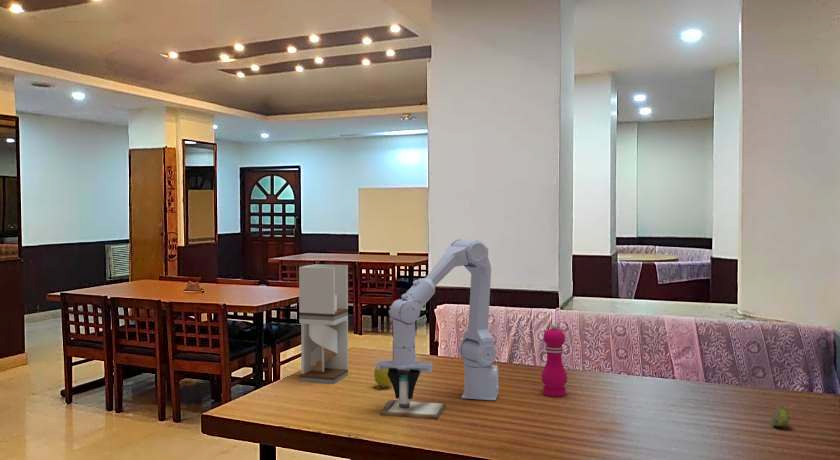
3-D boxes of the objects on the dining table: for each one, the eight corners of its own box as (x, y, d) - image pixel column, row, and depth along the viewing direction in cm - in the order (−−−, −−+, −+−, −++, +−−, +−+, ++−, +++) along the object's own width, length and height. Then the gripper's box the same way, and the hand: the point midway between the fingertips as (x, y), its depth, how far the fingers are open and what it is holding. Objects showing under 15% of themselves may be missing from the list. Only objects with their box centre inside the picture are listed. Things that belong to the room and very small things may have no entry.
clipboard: (445, 405, 165) (445, 400, 165) (437, 419, 154) (437, 413, 154) (391, 402, 168) (391, 397, 168) (380, 414, 157) (379, 409, 157)
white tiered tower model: (299, 381, 189) (299, 267, 188) (315, 372, 199) (314, 264, 198) (333, 384, 186) (333, 268, 185) (348, 375, 196) (347, 265, 195)
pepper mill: (565, 390, 179) (565, 321, 179) (568, 397, 172) (568, 325, 171) (540, 389, 180) (540, 321, 179) (542, 396, 173) (542, 325, 172)
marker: (411, 404, 163) (411, 375, 162) (408, 408, 160) (408, 378, 159) (399, 404, 163) (399, 374, 163) (397, 407, 160) (397, 377, 160)
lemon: (392, 390, 179) (392, 363, 179) (373, 390, 179) (373, 362, 179) (393, 385, 185) (393, 358, 185) (375, 385, 185) (375, 358, 185)
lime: (780, 431, 146) (780, 410, 145) (763, 424, 150) (763, 404, 150) (795, 429, 147) (795, 408, 147) (778, 422, 152) (778, 402, 151)
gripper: (372, 347, 159) (373, 400, 159) (428, 350, 155) (428, 404, 156) (380, 342, 166) (380, 392, 166) (433, 344, 162) (433, 396, 163)
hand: (404, 397), depth 161 cm, fingers closed on marker, 3 cm apart
